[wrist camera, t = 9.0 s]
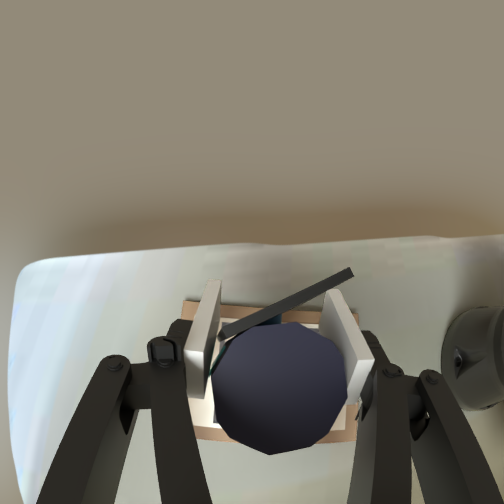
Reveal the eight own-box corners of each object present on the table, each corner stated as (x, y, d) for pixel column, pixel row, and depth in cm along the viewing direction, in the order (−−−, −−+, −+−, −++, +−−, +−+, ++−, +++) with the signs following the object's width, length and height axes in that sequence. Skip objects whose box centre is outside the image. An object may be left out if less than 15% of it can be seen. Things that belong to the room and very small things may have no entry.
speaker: (205, 310, 20) (198, 262, 10) (287, 305, 21) (351, 256, 11) (213, 419, 18) (215, 476, 8) (298, 410, 18) (372, 447, 9)
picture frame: (355, 315, 34) (359, 312, 33) (352, 439, 27) (356, 441, 26) (184, 303, 33) (183, 299, 32) (170, 433, 27) (168, 434, 26)
